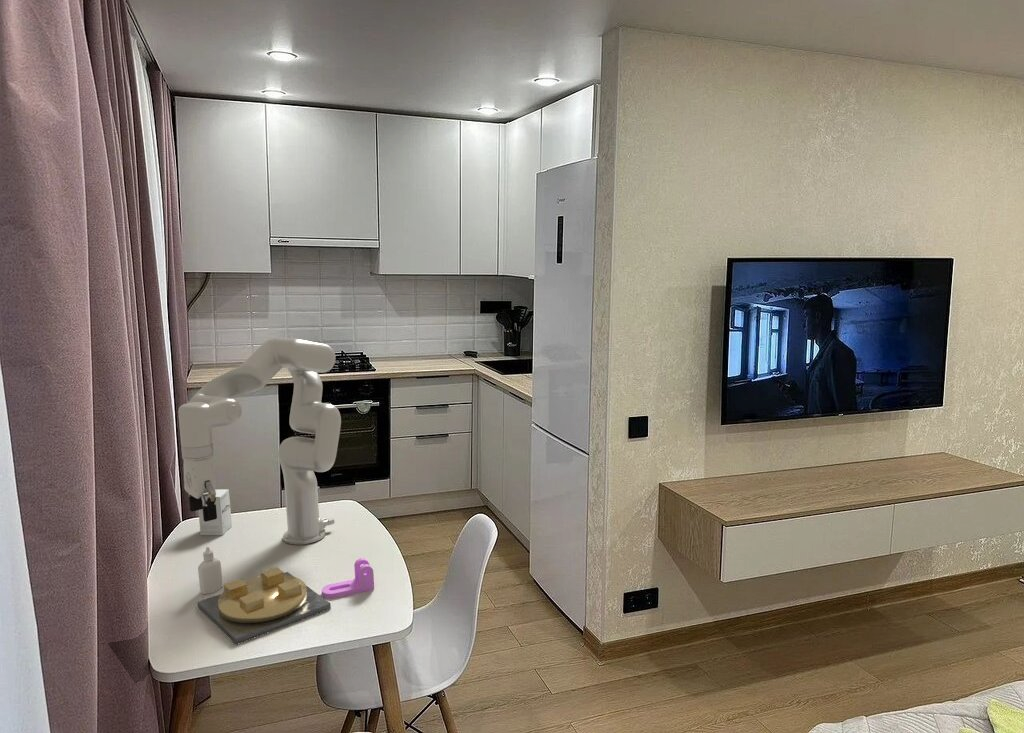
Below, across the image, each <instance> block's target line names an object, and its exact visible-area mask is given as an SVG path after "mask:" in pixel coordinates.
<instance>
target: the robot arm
mask: <svg viewBox="0 0 1024 733" xmlns="http://www.w3.org/2000/svg"><path fill="white" fill-rule="evenodd" d="M336 357H337V356H336V353H335V351H334V349H333V347H331V346H330V345H328V344H327V343H326V344H325V343H321V342H314V341H310V340H304V339H301V338H291V337H290V338H289V337H272V338H268V339H267V340H265V341H264V342H263V343H262V344H261V345H260V346H259V347H258V348H256V350H255V351H254V352H252V354H251V355H250V356H248V358H247V359H245V361H243V362H242V364H241V365H239V366H237V367H236V368H233V369H231V370H229V371H226V372H224V373H223V374H220V375H218V376H216V377H214V378H212V379H211V380H209V381H208V382H206V384H204V385H203V386H202V387H201V388H200V389H199V390H198V391H197V392H196V393H194V395H193V396H192V397H191V398H190V400H189V402H187V403H184V404H181V405H180V406H179V408H178V410H177V411H178V412H177V413H178V425H179V435H180V445H181V458H182V460H183V489H184V491H185V492H186V493H187V495H188V502H189V503H188V504H189V511H190V512H196V511H198V510H201V509H203V519H204V521H205V522H207V521H211V520H215V519H217V511H216V497H215V496H216V492H215V491H216V478H215V477H216V476H215V470H214V465H213V464H214V463H213V459H212V458H213V457H214V456H215V450H214V438H213V429H215V428H224V427H229V426H232V425H234V424H236V423H237V422H238V421H239V420H240V418H241V416H242V413H243V412H242V406H241V404H240V402H238V401H237V400H236V399H234V397H237V396H240V395H245V394H251V393H254V392H256V391H259V390H262V389H264V387H265V386H266V385H267V384H268V383H269V382H270V381H271V380H272V379H273V378H274V377H275V376H276V375H277V374H278V373H279V372H280V371H281V370H282V369H287V370H288V372H289V374H290V375H291V378H292V381H293V391H292V392H293V394H292V399H291V401H292V402H291V405H290V412H289V422H288V423H289V426H290V428H291V430H293V431H295V432H299V433H304V434H311V435H315V436H314V438H311V437H304V436H290V437H288V438H285V439H284V440H282V442H281V443H280V444H279V447H278V453H277V454H278V460H279V463H280V467H281V470H282V475H283V482H284V483H283V484H284V495H285V496H284V498H285V509H286V511H285V512H286V523H287V531H285V532H284V533H283V535H282V539H283V541H284V542H285V543H286V544H289V545H296V546H297V545H299V546H300V545H308V544H312V543H317V542H318V541H320V540H322V539H324V537H325V536H326V529H325V528H326V527H327V526H332V525H334V524H335V519H334V517H331V518H328V519H327V518H326V517H323V518H320V510H319V509H320V508H319V496H318V491H319V490H318V481H317V477H316V475H315V472H317V473H324V472H327V471H329V470H331V468H333V466H334V464H335V462H336V458H337V453H338V447H339V446H338V445H339V440H340V433H341V426H342V417H341V413H340V411H339V409H338V408H337V406H335V405H333V404H331V403H324V402H322V397H323V390H324V389H323V387H324V386H323V382H322V379H321V376H320V374H319V373H322V374H323V373H327V372H330V371H331V370H332V369H333V367H334V366H335V363H336ZM204 493H207V494H204ZM207 497H209V498H208V499H207V501H206V499H205V498H207ZM203 504H204V506H203Z"/></svg>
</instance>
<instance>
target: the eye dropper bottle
mask: <svg viewBox="0 0 1024 733" xmlns="http://www.w3.org/2000/svg"><path fill="white" fill-rule="evenodd" d="M202 557H203V561H201V562H200V563H199V565H198V566H197V569H198V570H197V572H198V573H197V574H198V581H199V591H200V593H201V594H203V595H208V594H212V593H215V592H217V591H219V590H220V589H222V588H223V587H224V585H223V584H224V583H223V573H222V564H221V561H220V559H218V558H215V557H214V551H213V550H211V548H210V546H206V547H205V550H204V552H203V554H202ZM221 587H222V588H221ZM214 591H215V592H214Z"/></svg>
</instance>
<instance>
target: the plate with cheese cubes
mask: <svg viewBox="0 0 1024 733" xmlns="http://www.w3.org/2000/svg"><path fill="white" fill-rule="evenodd" d="M284 573H285V572H284V571H283V570H281V569H280V568H279V567H277V566H274V567H273V568H269V569H266V570H264V571H260V576H255V577H250V578H248V579H245V580H243V579H241V578H238V579H235V580H233V581H229V582H226V583H223V592H222V593H220V594H221V595H220V597H219V599H218V607H219V613H220V615H221V616H222V617H224V618H225V619H227V620H230V621H233V622H239V623H258V622H265V621H270V620H274V619H277V618H280V617H283V616H285V615H288V614H290V613H292V612H293V611H295V610H297V609H298V608H299V607H301V606H302V605H303V603H304V602H305V601H306V598H307V589H306V586H307V585H306V582H305V581H303V580H302V579H301V578H298V577H297V576H296V577H295V576H294V575H292V576H288V575H284ZM293 576H294V577H293Z"/></svg>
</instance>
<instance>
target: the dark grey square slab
mask: <svg viewBox="0 0 1024 733" xmlns="http://www.w3.org/2000/svg"><path fill="white" fill-rule="evenodd" d="M284 575H288V576H293V577H295V576H294V575H293V574H291V573H289V572H288V571H285V572H284ZM306 589H307V598H306V601H305V602H304V603H303V605H302V606H301V607H299V608H298V609H297V610H295V611H293V612H292V613H290V614H288V615H285V616H283V617H280V618H277V619H274V620H270V621H265V622H258V623H239V622H233V621H230V620H227V619H225V618H224V617H222V616H221V615H220V613H219V607H218V599H219V597H220V595H221V594H222V593H219V594H217V595H214V596H211V597H207V598H205V599H202V600H198V601H197V608H198V609H200V611H202V613H203V614H204V615H206V617H207V618H208V619H209V620H210V621H211V622H212V621H213V622H214V623H215V624H216V625H217V626H218V627H219V628H220V629H221V630H222V631H223V632H224V633H225V634H226V635H227V636H228V637H229V638H230V639H231V640H232V641H233V642H234V643H235V644H237V645H239V644H238V643H240V644H242V643H241V642H243V643H245V642H247V641H246V640H248V641H250V640H249V639H251V640H253V639H255V638H254V637H256V638H258V637H261V636H263V635H262V634H264V635H266V634H268V633H267V632H269V633H271V632H275V631H276V629H277V630H279V629H282V628H284V627H286V626H289V625H291V624H294V623H297V622H300V621H303V620H305V619H308V618H310V616H311V617H312V615H313V616H315V614H316V615H317V613H318V614H321V613H323V611H324V612H327V611H329V610H331V609H332V608H331V607H332V606H331V602H329V601H328V600H327V599H326V598H325V597H323V596H322V595H320V594H319V593H317V592H316V591H314V590H313V589H311V587H309V586H308V585H306ZM320 612H321V613H320ZM307 617H308V618H307ZM302 619H303V620H302ZM213 622H212V623H213ZM214 623H213V624H214ZM215 624H214V625H215ZM218 627H217V628H218ZM220 629H219V630H220ZM221 630H220V631H221ZM222 631H221V632H222ZM223 632H222V633H223ZM224 633H223V634H224ZM265 633H266V634H265ZM225 634H224V635H225ZM226 635H225V636H226ZM260 635H261V636H260ZM227 636H226V637H227ZM257 636H258V637H257ZM228 637H227V638H228ZM229 638H228V639H229ZM252 638H253V639H252ZM230 639H229V640H230ZM231 640H230V641H231ZM232 641H231V642H232ZM244 641H245V642H244ZM233 642H232V643H233ZM234 643H233V644H234Z"/></svg>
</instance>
